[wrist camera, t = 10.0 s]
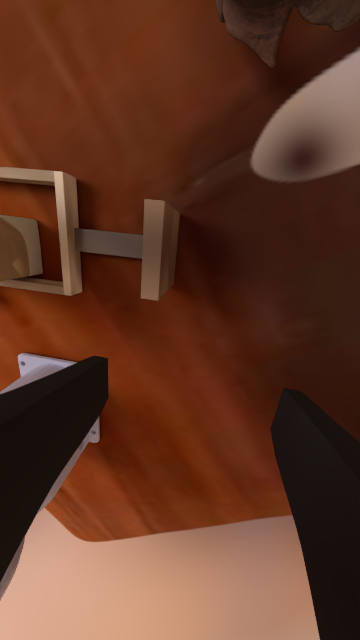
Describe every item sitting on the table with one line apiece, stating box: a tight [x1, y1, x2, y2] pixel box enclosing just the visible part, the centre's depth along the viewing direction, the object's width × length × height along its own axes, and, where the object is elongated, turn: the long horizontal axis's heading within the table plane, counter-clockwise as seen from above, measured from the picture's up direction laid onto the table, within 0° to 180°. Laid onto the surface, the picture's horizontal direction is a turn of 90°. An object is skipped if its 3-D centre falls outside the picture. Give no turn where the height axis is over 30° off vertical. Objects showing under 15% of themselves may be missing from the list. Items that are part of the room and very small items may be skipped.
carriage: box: [0, 167, 180, 301], centre depth 15 cm, size 8×18×5 cm, turn 84°
